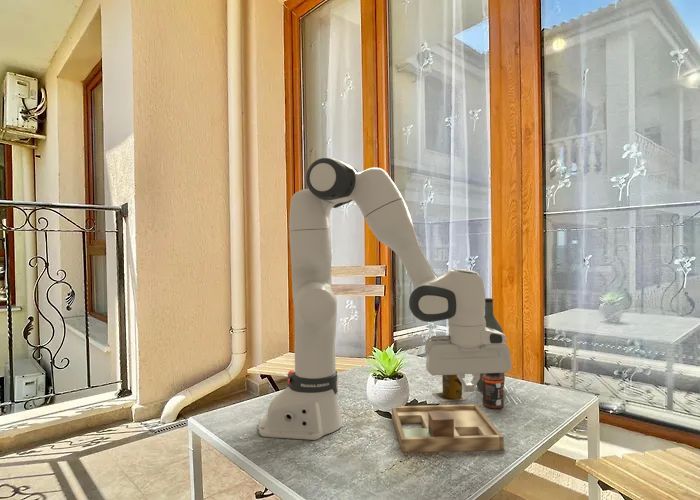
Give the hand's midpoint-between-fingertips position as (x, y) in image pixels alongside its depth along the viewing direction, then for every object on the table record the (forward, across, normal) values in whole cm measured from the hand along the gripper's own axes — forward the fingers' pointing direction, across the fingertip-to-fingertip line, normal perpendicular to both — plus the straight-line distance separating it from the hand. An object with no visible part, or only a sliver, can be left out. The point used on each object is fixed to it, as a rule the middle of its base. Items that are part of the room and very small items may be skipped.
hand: (468, 391), depth 103 cm
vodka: (+13, +18, +36) cm, 42 cm away
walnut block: (+10, -7, -1) cm, 13 cm away
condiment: (+13, +3, +30) cm, 33 cm away
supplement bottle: (+13, +14, +22) cm, 29 cm away
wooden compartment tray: (+12, -6, +6) cm, 15 cm away
